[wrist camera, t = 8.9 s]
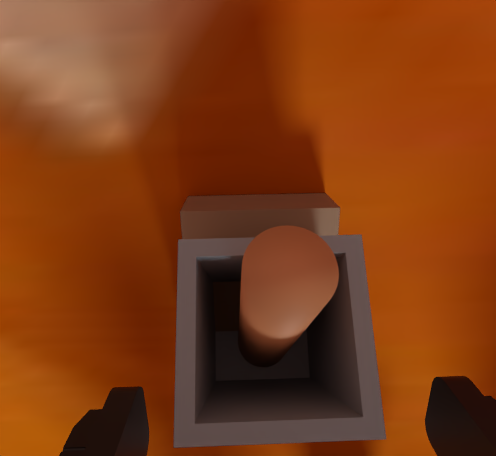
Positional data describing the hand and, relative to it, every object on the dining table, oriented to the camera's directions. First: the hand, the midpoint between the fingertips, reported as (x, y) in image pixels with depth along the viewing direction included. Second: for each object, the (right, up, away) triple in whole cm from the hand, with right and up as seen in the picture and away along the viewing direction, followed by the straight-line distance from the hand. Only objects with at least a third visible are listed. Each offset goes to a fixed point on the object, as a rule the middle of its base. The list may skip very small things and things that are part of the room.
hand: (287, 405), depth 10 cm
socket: (0, +2, +15) cm, 15 cm away
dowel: (0, -2, +12) cm, 12 cm away
